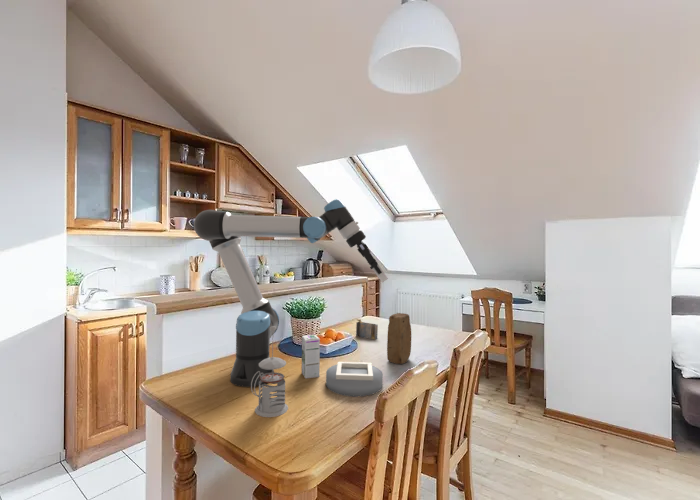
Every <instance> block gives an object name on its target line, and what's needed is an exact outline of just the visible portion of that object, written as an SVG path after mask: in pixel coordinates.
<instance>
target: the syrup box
mask: <svg viewBox="0 0 700 500" xmlns="http://www.w3.org/2000/svg"><path fill="white" fill-rule="evenodd" d="M320 340H321V339H320V337H318V336H317V334H305V335H302V336H301V374H302V376H303V377H304V378H305V379H312V378H313V379H314V378H320V372H321V371H320V367H321V366H320V365H321V364H320V358H321V357H320V355H321V354H320V348H321V346H320V345H321V341H320Z"/></svg>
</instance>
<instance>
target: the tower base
mask: <svg viewBox="0 0 700 500" xmlns="http://www.w3.org/2000/svg"><path fill="white" fill-rule="evenodd" d="M372 364H373V363H372V362H365V361H364V362H363V361H362V362H359V361H337V364H333V365H332V366H330V367H329V368H327V369H326V371H325V372H326V373H325V374H326V375H325V386H326V388H327V389H328V390H329V391H331V392H332V393H334V394H336V395H337V394H338V395H339V396H340V395H341V396H346V397H358V396H360V397H367V396H366V395H368V396H371V395H370V394H372V395H374V394H373V393H375V394H377V393H379V390H380V391H381V390H382V388H383V382H384V381H383V377H384V376H383V375H384V373H383V371H382V370H381V369H380V368H379V367H377V366H374V365H372ZM376 392H377V393H376Z"/></svg>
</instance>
